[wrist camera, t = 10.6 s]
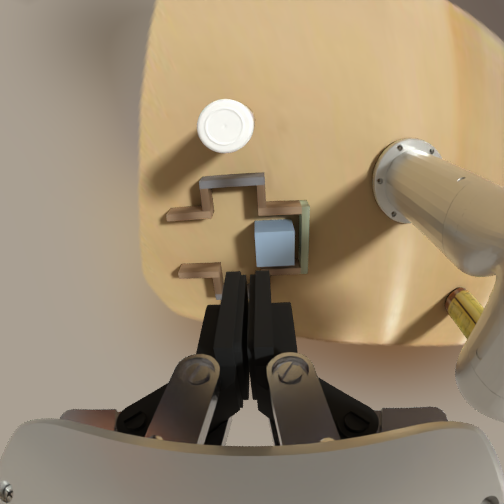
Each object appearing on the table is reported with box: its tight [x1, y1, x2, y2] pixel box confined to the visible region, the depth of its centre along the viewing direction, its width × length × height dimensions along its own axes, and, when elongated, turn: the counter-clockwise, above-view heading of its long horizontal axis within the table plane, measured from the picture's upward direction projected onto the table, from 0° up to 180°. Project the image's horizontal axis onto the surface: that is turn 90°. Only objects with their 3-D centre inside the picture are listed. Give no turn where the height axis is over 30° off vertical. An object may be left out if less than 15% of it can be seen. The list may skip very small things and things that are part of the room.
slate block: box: [255, 219, 295, 267], centre depth 38 cm, size 5×5×4 cm
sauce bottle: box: [445, 288, 484, 339], centre depth 36 cm, size 6×6×20 cm
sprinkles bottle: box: [197, 99, 255, 153], centre depth 26 cm, size 5×5×13 cm
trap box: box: [166, 173, 310, 300], centre depth 39 cm, size 18×18×2 cm
